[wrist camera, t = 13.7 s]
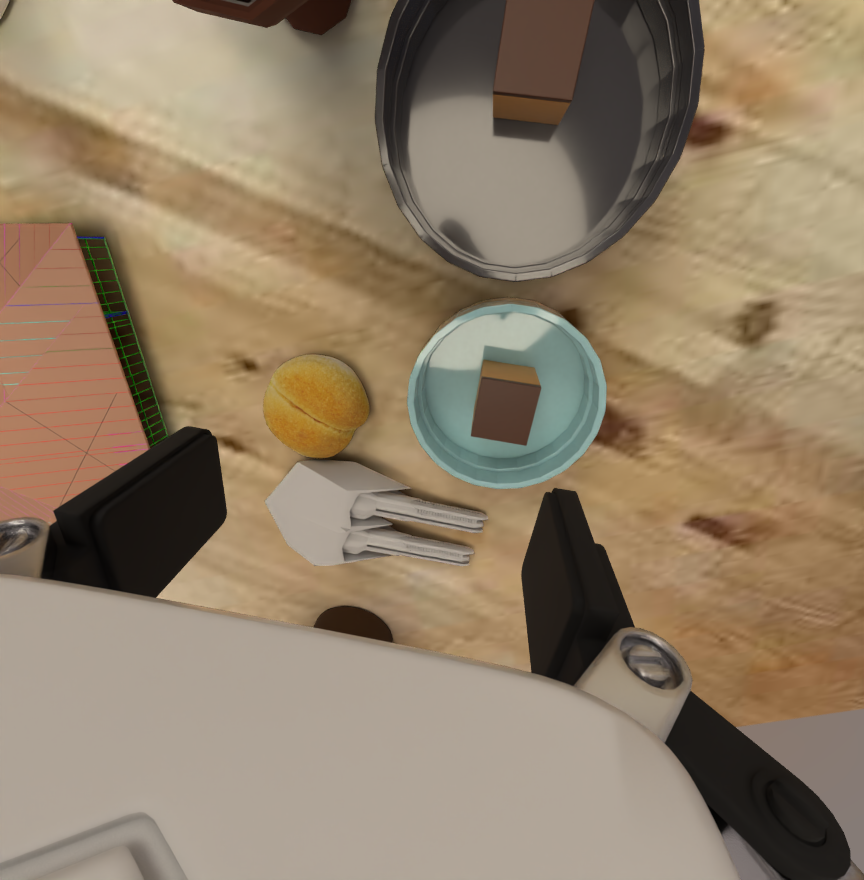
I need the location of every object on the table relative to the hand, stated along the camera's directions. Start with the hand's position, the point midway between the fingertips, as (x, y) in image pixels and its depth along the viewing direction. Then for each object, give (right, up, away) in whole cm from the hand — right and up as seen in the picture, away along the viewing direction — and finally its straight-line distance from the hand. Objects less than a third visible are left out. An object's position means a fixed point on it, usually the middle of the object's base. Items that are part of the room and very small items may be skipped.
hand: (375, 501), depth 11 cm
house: (-34, +4, +28) cm, 45 cm away
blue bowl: (+7, +6, +21) cm, 23 cm away
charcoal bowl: (+7, +21, +14) cm, 26 cm away
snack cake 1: (+7, +6, +20) cm, 23 cm away
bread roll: (-8, +5, +24) cm, 26 cm away
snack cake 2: (+8, +23, +12) cm, 27 cm away
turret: (-3, -5, +28) cm, 29 cm away
